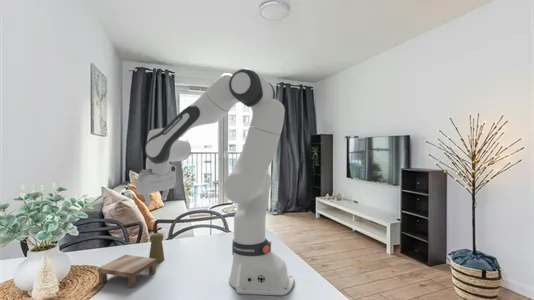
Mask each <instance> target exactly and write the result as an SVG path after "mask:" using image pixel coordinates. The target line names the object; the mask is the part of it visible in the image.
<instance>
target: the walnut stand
mask: <svg viewBox="0 0 534 300" xmlns="http://www.w3.org/2000/svg"><path fill="white" fill-rule="evenodd" d="M156 264H158V263H157V259H154V258H149V257H145V256H138V255H129V254H124V255H122V256H120V257H118V258H115V259H113V260H112V261H109V262H108V263H105V264H104V265H100V266H99V267H98V269H97V273H98V283H99V282H101V283H100V284H104V283H106V282H107V278H108V275H111V276H119V277H124V278H127V288H129V289H133V288H135V287H136V285H137V284H136V283H137V282H136V281H137V280H136V279H137V278H136V276H137V275H139V274H141V273H143V272H145V271H146V270H148V274H149V275H154V274H156V272H157V271H156V269H157V265H156Z"/></svg>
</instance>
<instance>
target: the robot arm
mask: <svg viewBox="0 0 534 300" xmlns="http://www.w3.org/2000/svg"><path fill="white" fill-rule="evenodd" d="M239 102H240V103H241V104H243V105H244V106H245V107H248V108H250V109H251V111H252V112H251V113H252V116H251V120H250V124H249V127H248V131H247V134H246V138H245V141H244V144H243V147H242V150H241V152H240V154H239V157H238V158H237V161H236V162H235V165H234V166H233V168H232V171H231V173H230V174H229V175H228V176H227V178H226V179H225V180H224V183H223V191H224V194H225V197H226V198H227V199H228V200H229V201H230V202H232V203H234V204H237V208H236V212H235V214H234V216H233V239H232V243H231V251H232V263H231V264H232V265H231V271H230V274H229V277H228V282H229V284H230V285H231V287H233V288H234V289H235V291H236V293H237V294H243V295H261V296H262V295H263V296H264V295H267V296H285V295H287V294H288V293H289V292H291V290H292V289H293V286H294V284H295V281H294V280H295V279H294V275H293V274H292V273H290V272H288V269H287V264H286V261H285V260H284V259H283V258H281V257H280V256H278V254H276V253H275V252H274V251H272V240H270V241H269V240H268V239H267V238H266V221H267V220H266V217H267V209H268V204H269V198H270V196H269V195H270V189H271V186H272V177H271V174H270V172H268V169H269V167H270V165H271V163H272V161H273V159H274V158H275V156H276V152H277V148H278V145H279V141H280V138H281V134H282V131H283V127H284V121H285V114H286V113H285V112H286V109H285V105H284V104H283V103H282V102H281V101H279V100H278V99H276V91H275V88H274V87H273V85H272V84H271V83H270V82H269V81H268V80H266V78H265V77H263V76H262V75H260V74H259V73H256V71H254V70H253V69H249V68H240V69H238V70H236V71H234V72H233V74H232V73H223V74H222V75H221V76H219V77H217V79H216V80H214V82H213V83H211V85H209V86H208V87H207V89H206V90H204V92H203V93H202V94H201V95H200V96H199V98H197V99H196V100H195V101H193V103H191V104H190V105H188V106H187V107H185V108H184V109H183V110H182V111H180V113H178V114H177V115H176V116H175V117H174V118H173V119H172V120H171V121H170V122H169V123H168V124H167V125H166V126H165V127H163V128H162V127H161V128H160V127H158V128H152V129H151V130H149V132H148V134H147V139H146V143H145V146H144V147H145V148H144V152H145V156H146V159H145V169H142V170H140V172H139V173H138V175H137V179H136V184H135V193H136V194H137V195H141V196H143V199H144V201H145V202H144V203H145V205H147V206H149V205H152V203H153V202H152V199H151V198H150V197H151V194H153V193H156V192H157V193H158V192H161V191H162V195H161V196H160V200H161V201H167V198H168V195H169V192H170V189H174V188H175V187H176V182H177V174H176V172H177V166H175V165H173V164H171V163H174V162H182V161H186V160H187V159H188V158H189V157H190V155H191V152H192V148H191V144H190V142H189V140H187V139H186V138H183V136H184V135H185V134H186V133H188V131H190V130H191V129H193V128H195V127H199V126H203V125H210V124H216V123H218V122H219V121H221V120H222V119H223V118H224V117H226V115H227V114H228V112H230V111H231V110H232V108H233V107H234V106H235V105H236V104H237V103H239Z"/></svg>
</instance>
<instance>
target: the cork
mask: <svg viewBox="0 0 534 300" xmlns="http://www.w3.org/2000/svg"><path fill="white" fill-rule="evenodd" d="M163 240H164V234H163V233H161V232H155V233H152V234H150V237H149V242H150V248H149V249H150V250H149V255H148V258H154V259H157V263H156V264H159V263H162V262H164V261H165V254H164V246H163Z"/></svg>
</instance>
